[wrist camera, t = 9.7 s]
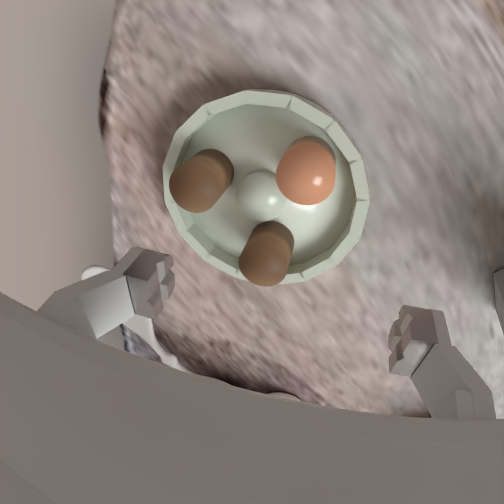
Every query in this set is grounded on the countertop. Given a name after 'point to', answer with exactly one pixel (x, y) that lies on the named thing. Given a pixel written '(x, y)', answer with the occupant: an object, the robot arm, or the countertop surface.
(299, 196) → the loose bead
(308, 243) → the groove tray
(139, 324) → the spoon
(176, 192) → the seated bead
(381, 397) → the countertop surface
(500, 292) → the skincare box
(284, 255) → the seated bead
